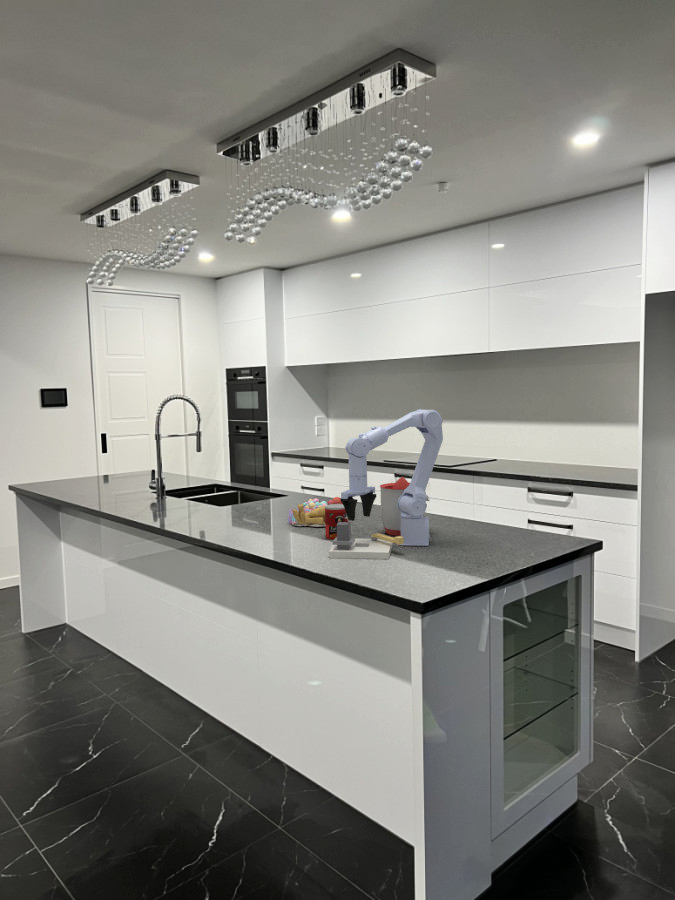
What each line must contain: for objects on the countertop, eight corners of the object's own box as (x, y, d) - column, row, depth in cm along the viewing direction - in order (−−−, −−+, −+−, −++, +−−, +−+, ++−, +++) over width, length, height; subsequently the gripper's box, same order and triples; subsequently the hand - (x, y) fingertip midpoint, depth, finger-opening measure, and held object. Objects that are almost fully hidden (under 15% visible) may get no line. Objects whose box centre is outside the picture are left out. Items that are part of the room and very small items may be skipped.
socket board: (392, 545, 217) (392, 539, 217) (388, 559, 200) (388, 552, 200) (337, 544, 220) (337, 538, 220) (328, 557, 203) (328, 551, 202)
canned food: (328, 540, 226) (328, 508, 225) (323, 536, 233) (322, 504, 232) (350, 539, 228) (350, 507, 227) (344, 534, 235) (343, 503, 234)
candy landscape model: (349, 528, 246) (349, 503, 245) (285, 529, 247) (285, 504, 246) (349, 516, 271) (349, 493, 270) (291, 516, 272) (290, 494, 271)
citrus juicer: (428, 539, 225) (428, 480, 224) (377, 537, 229) (376, 479, 227) (431, 529, 241) (431, 474, 239) (383, 528, 244) (382, 473, 242)
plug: (355, 546, 209) (354, 521, 208) (352, 550, 203) (351, 525, 202) (336, 545, 210) (335, 521, 209) (332, 550, 204) (332, 525, 203)
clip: (375, 538, 218) (374, 529, 217) (403, 547, 205) (403, 537, 205) (369, 539, 216) (369, 529, 216) (398, 548, 204) (398, 538, 204)
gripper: (352, 479, 204) (353, 523, 205) (382, 474, 214) (383, 515, 216) (335, 477, 208) (336, 520, 210) (365, 472, 219) (366, 513, 220)
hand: (359, 518), depth 213 cm, fingers open, 7 cm apart
